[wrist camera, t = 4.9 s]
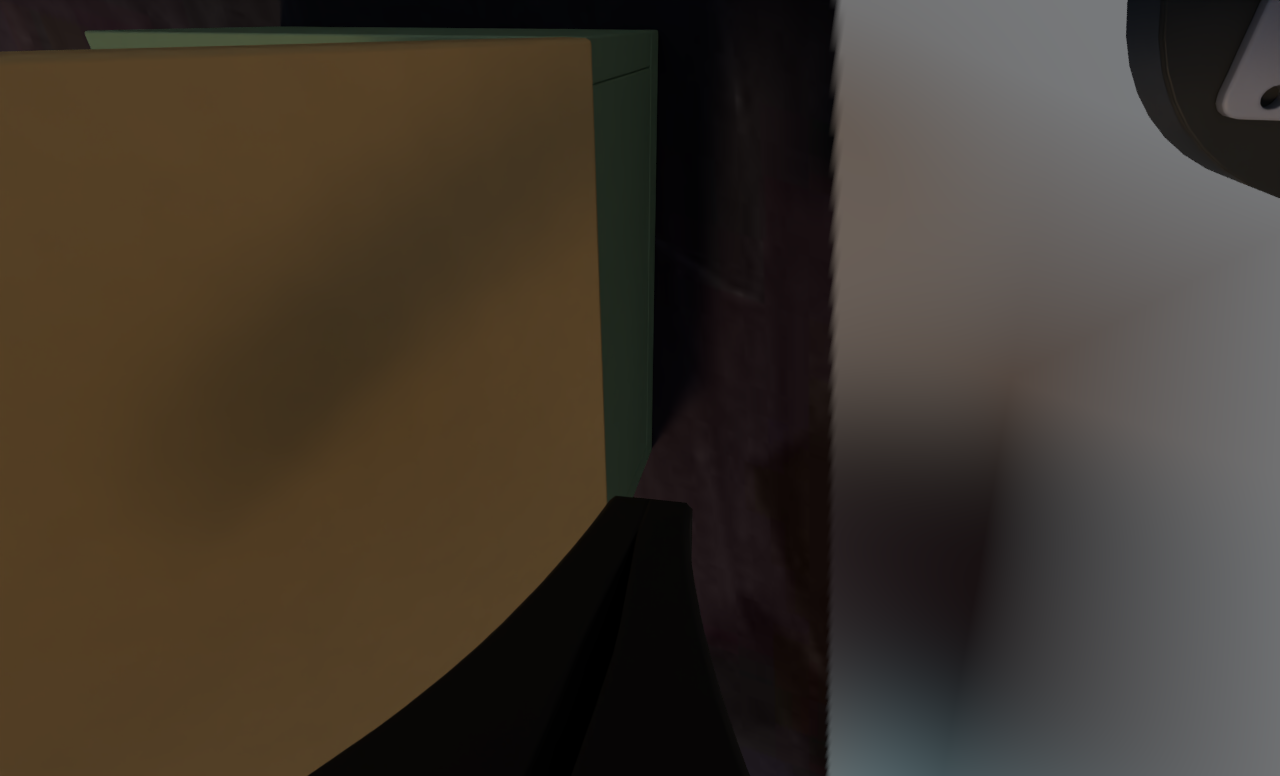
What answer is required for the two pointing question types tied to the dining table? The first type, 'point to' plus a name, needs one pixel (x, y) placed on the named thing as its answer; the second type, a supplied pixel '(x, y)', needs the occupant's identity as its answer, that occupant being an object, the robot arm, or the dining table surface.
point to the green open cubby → (620, 182)
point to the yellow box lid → (283, 386)
